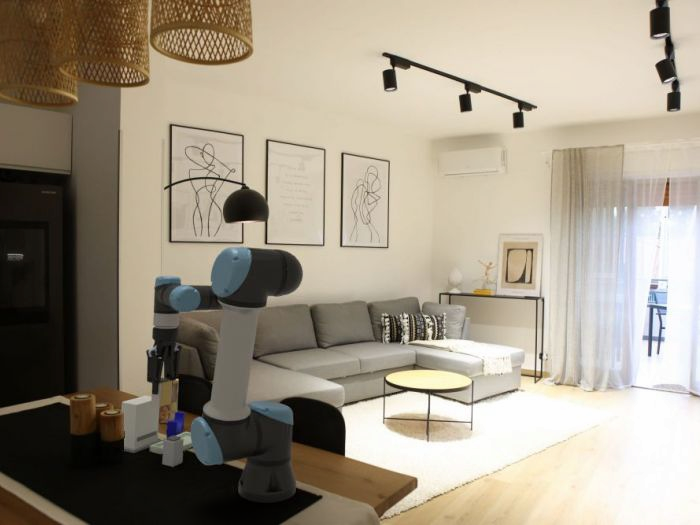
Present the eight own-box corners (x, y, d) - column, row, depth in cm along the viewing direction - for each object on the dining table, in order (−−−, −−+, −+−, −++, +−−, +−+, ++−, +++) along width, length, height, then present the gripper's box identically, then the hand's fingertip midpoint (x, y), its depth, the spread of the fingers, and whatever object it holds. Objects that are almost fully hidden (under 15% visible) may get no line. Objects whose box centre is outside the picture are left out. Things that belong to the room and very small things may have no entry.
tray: (206, 441, 183) (206, 436, 183) (171, 456, 168) (171, 450, 168) (186, 436, 187) (186, 431, 187) (149, 451, 172) (149, 445, 172)
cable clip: (170, 428, 195) (171, 411, 195) (183, 428, 196) (184, 411, 196) (161, 439, 183) (162, 421, 183) (175, 440, 184) (176, 422, 184)
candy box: (176, 419, 205) (179, 378, 205) (175, 423, 201) (178, 381, 201) (151, 420, 203) (153, 378, 203) (150, 423, 199) (152, 381, 199)
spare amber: (170, 403, 171) (172, 378, 171) (161, 406, 168) (163, 381, 168) (160, 401, 173) (161, 377, 173) (151, 404, 169) (152, 379, 169)
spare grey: (182, 462, 164) (183, 436, 164) (172, 466, 161) (174, 440, 161) (171, 459, 166) (173, 434, 166) (162, 464, 162) (163, 438, 162)
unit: (162, 442, 180) (164, 398, 180) (133, 453, 169) (136, 406, 169) (143, 437, 184) (145, 394, 184) (114, 448, 173) (116, 402, 173)
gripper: (174, 323, 179) (170, 395, 179) (135, 328, 163) (131, 407, 164) (193, 325, 177) (189, 398, 177) (156, 330, 161) (152, 411, 161)
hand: (161, 402), depth 170 cm, fingers closed on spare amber, 4 cm apart
